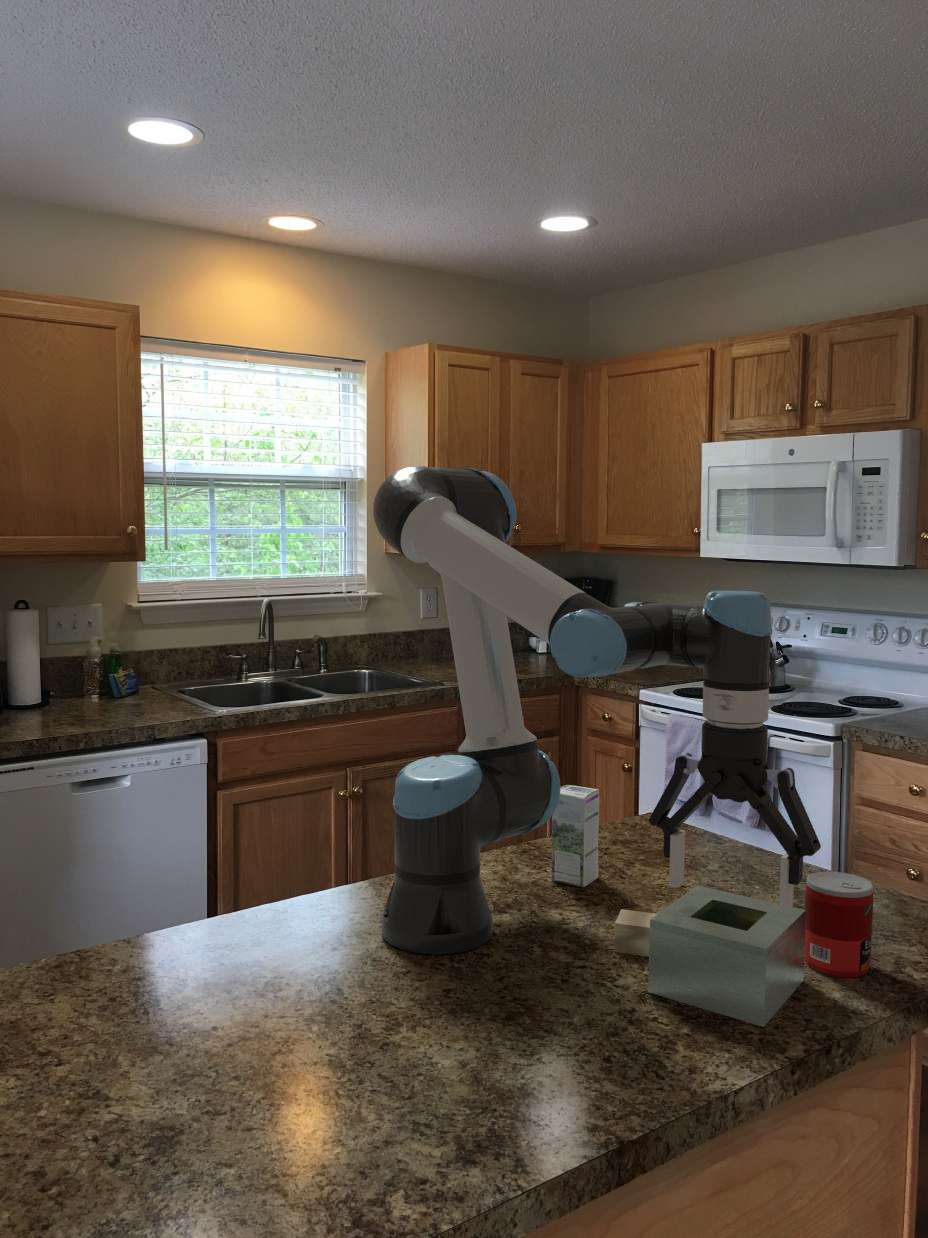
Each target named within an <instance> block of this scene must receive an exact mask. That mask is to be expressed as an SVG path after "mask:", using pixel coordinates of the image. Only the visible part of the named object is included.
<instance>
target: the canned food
mask: <svg viewBox="0 0 928 1238" xmlns="http://www.w3.org/2000/svg"><path fill="white" fill-rule="evenodd" d="M874 890H875V889H874V884H873V883H872V882H871V881H870V880H868V879H866V878H864V877H861V876H859V875H855V874H851V873H847V872H841V871H818V872H813V873H811V874H808V875H807V876H806V882H805V897H804V898H805V899H804V900H805V902H804V903H805V905H804V910H806V919H805V945H804V962H805V964H806V965H807V966H808V967H809V968H811V969H812V970H814V971H816V972H818V973H821V974H822V975H823V974H824V975H825V976H831V977H835V978H845V979H847V978H848V979H849V978H850V979H851V978H853V979H854V978H859V977H863V976H864V975H866V974H867V973H868V972H869V969H870V966H871V955H872V936H873V935H872V934H873V916H874V914H873V913H874V893H875V891H874Z"/></svg>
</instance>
